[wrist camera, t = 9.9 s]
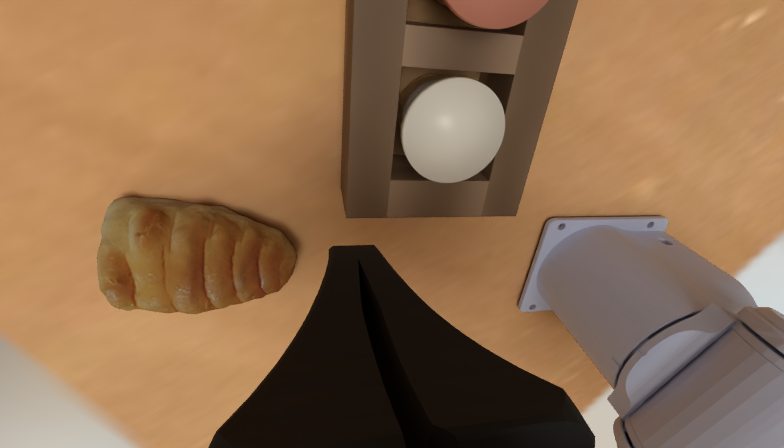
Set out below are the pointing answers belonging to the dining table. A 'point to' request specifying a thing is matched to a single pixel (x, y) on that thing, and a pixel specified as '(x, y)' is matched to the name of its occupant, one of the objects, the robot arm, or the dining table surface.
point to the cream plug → (449, 126)
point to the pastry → (187, 256)
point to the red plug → (494, 11)
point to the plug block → (451, 52)
